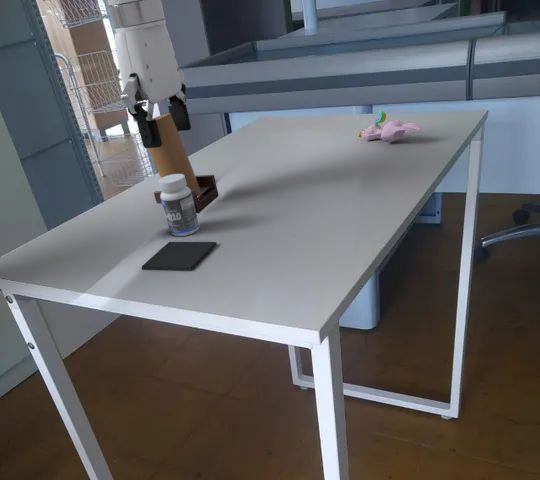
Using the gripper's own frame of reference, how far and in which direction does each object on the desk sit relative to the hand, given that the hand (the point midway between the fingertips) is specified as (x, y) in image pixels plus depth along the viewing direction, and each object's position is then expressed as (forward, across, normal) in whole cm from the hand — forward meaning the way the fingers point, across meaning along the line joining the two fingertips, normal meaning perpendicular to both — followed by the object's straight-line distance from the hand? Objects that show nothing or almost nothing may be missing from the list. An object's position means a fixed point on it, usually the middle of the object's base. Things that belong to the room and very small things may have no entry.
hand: (168, 138), depth 89 cm
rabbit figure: (+11, -30, +30) cm, 44 cm away
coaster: (+12, +20, +10) cm, 25 cm away
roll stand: (+11, 0, +1) cm, 11 cm away
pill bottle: (+12, +10, +6) cm, 17 cm away
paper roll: (+4, 0, -3) cm, 6 cm away
